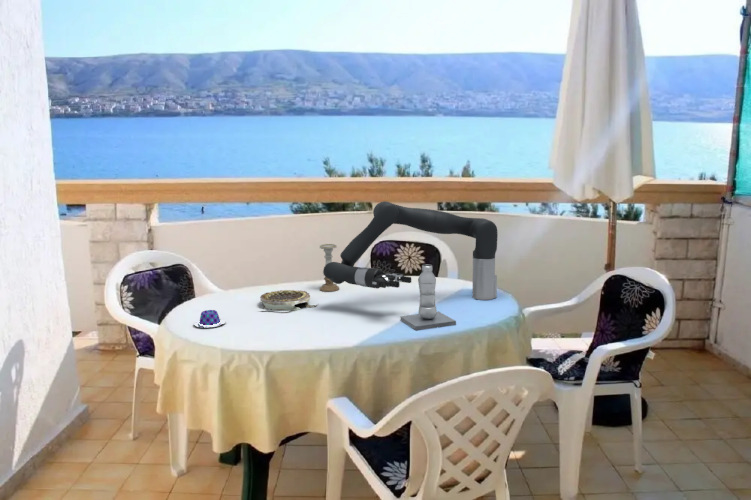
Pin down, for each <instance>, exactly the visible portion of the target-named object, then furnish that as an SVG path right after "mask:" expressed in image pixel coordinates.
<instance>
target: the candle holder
mask: <svg viewBox="0 0 751 500" xmlns="http://www.w3.org/2000/svg"><path fill="white" fill-rule="evenodd" d="M336 248H337V244H334V243H325V244H320V245H319V249H322V250H323V252H324V254H325V255H324V259H325V265H326V264H328V263H330V262H333V259H332V258H333V254H332V253H333V251H334V249H336ZM322 274H323V276H324V278H323V280H324V281H325V283H323V284H322V285H321V286H320V287H319V291H321V292H329V293H331V292H337V291H339V290H340V287H339V285H338V284H336V283H334V282H332V281H331V280H330V279H328V278H327V277H326V276H325V275H324V272H323V271H322Z"/></svg>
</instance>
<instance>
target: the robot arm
mask: <svg viewBox="0 0 751 500" xmlns="http://www.w3.org/2000/svg"><path fill="white" fill-rule="evenodd" d="M372 214H373V217H372V219H371V221H370V222H369V224H368V225H366V227H365V228H364V229H363V230H362V231H361V232H359V234H357V235H356V236H355V237H354V238H353V239H352V240H351V241H350V242H349V243H348V245H347V246H346V247H345V248H344V249H343V250H342V251H341V253H340V258H341V262H337V261H332V262H330V263H328V264H326V265H325V266H323V271H322V273H323V272H324V275H325V276H326V277H327V278H328V279H330V280H331V281H332V282H333V283H334V284H337V285H340V284H343V283H347V284H350V285H356V286H359V287H360V286H361V287H364V288H371V289H379V288H380V289H382V288H383V289H386V288H390V287H391V288H400V286H401V285H400V284H401V283H406V284H411V283H412V277H411V276H405V274H404V273H398V272H397V273H396V272H389V273H385V272H384V271H383V269H380V268H373V267H367V266H366V267H363V266H362V267H359V266H355V264H356V263H357V262H358V261H359V259H361V257H362V256H363V255H364V254H365V253H366V251H367V250H368V249H369V248H370V246H372V244H373V243H374V242H375V241H376V240H377V239H378V238H379V237H380V236H381V235H382V234H383V233H384V232H385V231H386V230H387V229H389V228H390V227H391V226H393V225H402V226H408V227H411V228H414V229H416V230H419V231H424V232H427V233H433V234H438V235H439V234H440V235H455V234H456V235H462V236H467V237H469V238H473V239H475V247H474V250H472V298H473V299H475V300H480V301H481V300H483V301H488V300H493V299H497V298H498V297H497V296H498V295H497V293H498V292H497V291H498V289H497V286H498V284H497V283H498V276H497V274H496V253H497V251H498V234H499V233H498V227H497V225H496V223H495V222H493V221H491V220H489V219H487V218H479V217H478V218H477V217H465V216H464V217H463V216H460V215H457V214H453V213H449V212H446V211H442V210H437V209H436V210H435V209H430V208H429V209H428V208H417V207H416V208H415V207H406V206H402V205H398V204H397V203H396V204H395V203H392V202H390V201H380V202H379V203H377V204H376V205H375V207H374V208H373V211H372ZM324 275H323V276H324ZM325 276H324V277H325Z"/></svg>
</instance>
